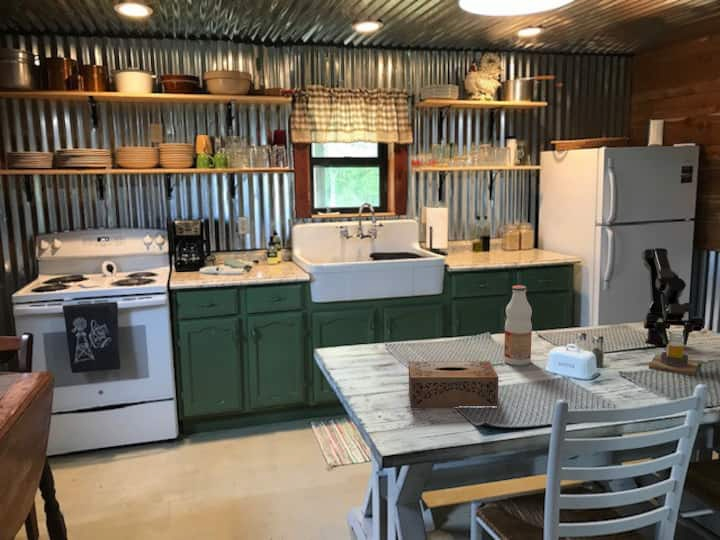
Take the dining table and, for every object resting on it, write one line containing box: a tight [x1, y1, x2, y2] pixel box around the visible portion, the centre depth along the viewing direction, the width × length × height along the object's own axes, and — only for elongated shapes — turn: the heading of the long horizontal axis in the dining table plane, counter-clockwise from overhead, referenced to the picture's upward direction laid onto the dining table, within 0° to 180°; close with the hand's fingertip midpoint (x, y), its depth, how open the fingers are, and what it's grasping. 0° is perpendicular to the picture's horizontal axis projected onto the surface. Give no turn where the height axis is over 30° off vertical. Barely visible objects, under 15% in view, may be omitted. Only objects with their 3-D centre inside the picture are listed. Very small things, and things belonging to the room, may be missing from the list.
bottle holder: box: [648, 351, 700, 376], centre depth 210 cm, size 14×14×4 cm
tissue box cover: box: [408, 360, 499, 409], centre depth 184 cm, size 26×14×10 cm, turn 88°
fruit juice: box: [503, 285, 533, 366], centre depth 215 cm, size 9×9×28 cm
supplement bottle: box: [665, 332, 685, 358], centre depth 209 cm, size 5×5×10 cm
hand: (676, 344), depth 207 cm, fingers closed on supplement bottle, 5 cm apart
